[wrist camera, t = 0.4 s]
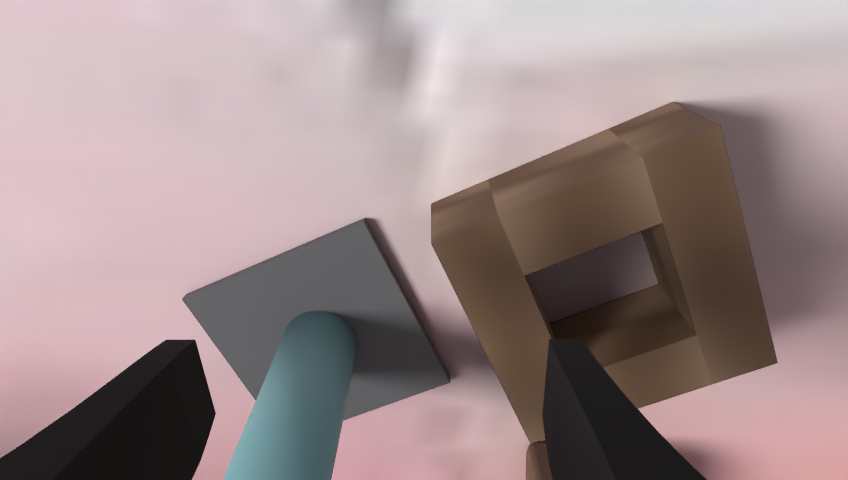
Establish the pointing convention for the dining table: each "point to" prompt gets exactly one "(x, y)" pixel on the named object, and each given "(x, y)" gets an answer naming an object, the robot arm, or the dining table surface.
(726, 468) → the dining table surface
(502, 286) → the hole block
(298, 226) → the dining table surface
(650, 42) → the dining table surface
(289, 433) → the peg
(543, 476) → the wooden block
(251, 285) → the mat
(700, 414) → the dining table surface
